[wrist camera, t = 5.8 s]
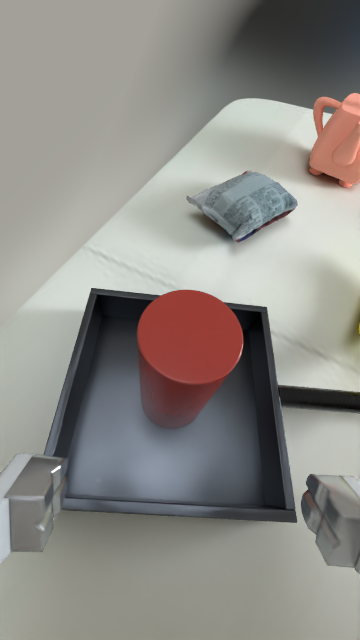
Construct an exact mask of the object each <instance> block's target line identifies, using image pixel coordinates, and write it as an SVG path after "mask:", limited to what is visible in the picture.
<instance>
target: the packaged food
mask: <svg viewBox="0 0 360 640" xmlns="http://www.w3.org/2000/svg"><path fill="white" fill-rule="evenodd" d="M187 200H188V202H189V203H191V204H193V205H196V206H197V207H198V208H199V209H200V210H201V211H202V212H203V213H204V214H206V215H207V216H208V217H210V218H211V219H212V220H214V221H215V222H216V223H217V224H219V225H220V226H221V227H222V228H224V229H225V230H227V233H228V234H230V235H231V236H232V239H234V240H233V241H236V242H241V241H243V240H245V239H247V238H248V237H250V236H251V235H253V234H254V233H256V232H257V231H259V230H260V229H261V228H263V227H266V226H268V225H269V224H271V223H273V222H275V221H277V220H279V219H281V218H283V217H285V216H286V215H288V214H289V213H290V212H292V211H293V210H294V209H295V208H296V206H297V205H298V204H297V200H296V199H295V198H294V197H293V196H292V195H291V194H289V193H288V192H287V191H286V190H285V189H284V188H283V187H282V186H281V185H280V184H279V183H278V182H275V181H274V180H272V179H270V178H269V177H267V176H265V175H262V174H259V173H257V172H252V171H246V172H244V173H243V174H242V175H239V176H237V177H235V178H232V179H230V180H228V181H226V182H224V183H222V184H220V185H217V186H214V187H212V188H210V189H207V190H204V191H203V192H201V193H199V194H198V195H195V196H193V197H189V196H187Z"/></svg>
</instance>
